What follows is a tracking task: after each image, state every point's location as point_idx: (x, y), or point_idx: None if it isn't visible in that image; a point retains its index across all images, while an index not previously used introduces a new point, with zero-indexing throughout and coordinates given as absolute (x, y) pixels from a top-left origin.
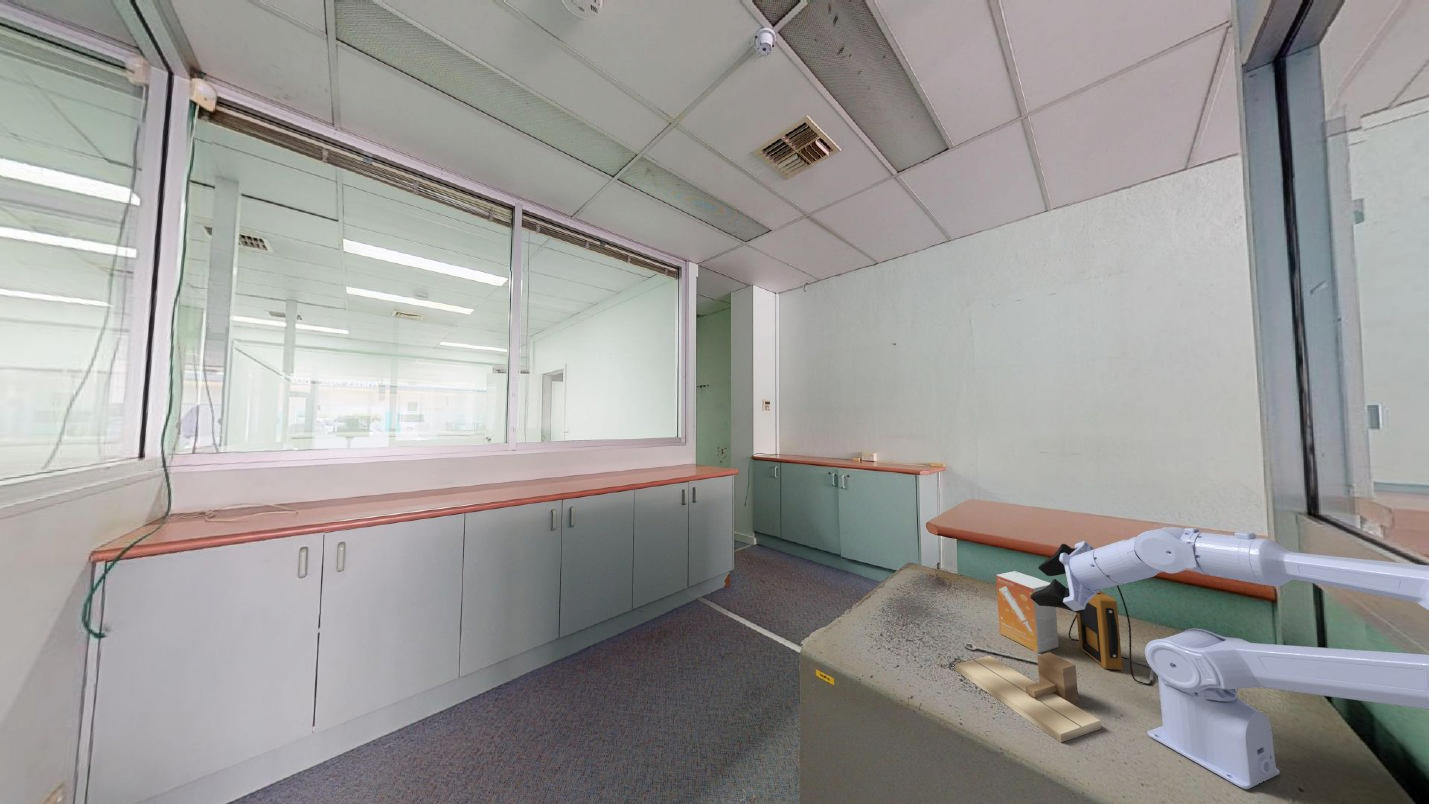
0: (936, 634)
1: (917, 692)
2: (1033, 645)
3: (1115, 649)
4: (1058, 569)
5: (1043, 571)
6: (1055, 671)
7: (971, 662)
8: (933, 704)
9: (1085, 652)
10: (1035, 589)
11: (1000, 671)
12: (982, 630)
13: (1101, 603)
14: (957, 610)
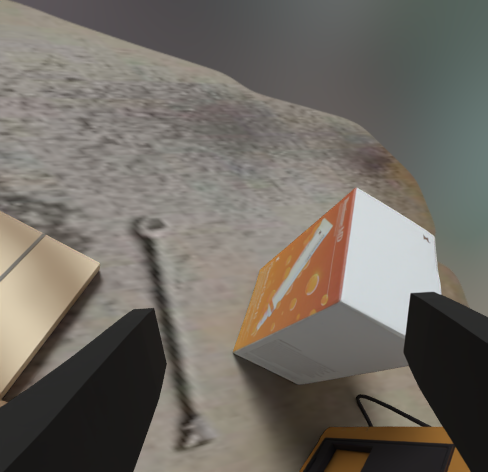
0: (157, 166)
1: None
2: (240, 340)
3: None
4: (481, 434)
5: (412, 326)
6: None
7: (21, 232)
8: None
9: (317, 444)
10: (346, 309)
11: (15, 298)
12: (249, 239)
13: None
14: (295, 193)
